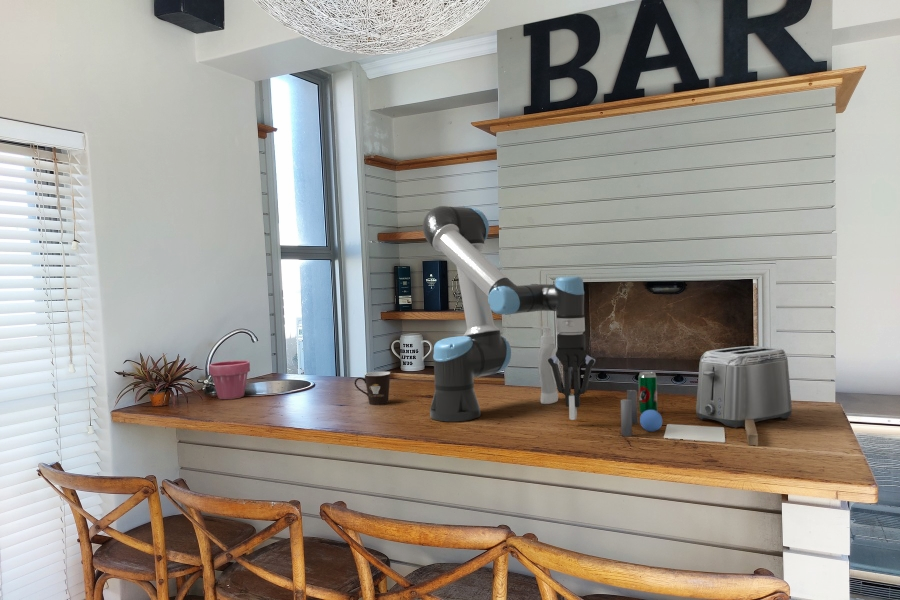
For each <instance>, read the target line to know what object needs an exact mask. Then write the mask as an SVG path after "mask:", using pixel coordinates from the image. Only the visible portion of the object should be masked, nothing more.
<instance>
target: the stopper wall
mask: <svg viewBox="0 0 900 600" xmlns="http://www.w3.org/2000/svg"><path fill="white" fill-rule="evenodd" d="M755 423H756V422H754V419H745V426H744V430H746V431H745V435H747V436H746V440H747V445H748V446H750V445H756V446H755V447H758V446H759V435H758V431H757V427H756V424H755Z"/></svg>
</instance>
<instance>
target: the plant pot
mask: <svg viewBox="0 0 900 600" xmlns="http://www.w3.org/2000/svg"><path fill="white" fill-rule="evenodd" d="M250 371H251V365H250V361H249V360H227V361H218V362H212V363H210V364H209V365H208V372H209V376H211V378H212V381H213V384H214V389H215V392H216V395H217V398H218V399H219V400H234V399H240V398H242V397H245V391H246V387H247V380H248V373H249V372H250Z"/></svg>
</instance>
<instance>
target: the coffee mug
mask: <svg viewBox="0 0 900 600" xmlns="http://www.w3.org/2000/svg"><path fill="white" fill-rule="evenodd" d="M358 380H361V381H363V382H364V384H365V386H366V391H367V392H366V391H364V390H363V389H361V388H360V387H359V386H358V384H357V381H358ZM390 381H391V372H390V371H371V372H366V373H364V377H357V378H356V379H355V380H354V387H355V388H356V389H357V390H358V391H359V392H361V393H363V394H364V395H366V396H367V398H368V403H369V404H368V405H371V406H382V405H386V404H389V398H390V397H389V394H390V383H391V382H390Z"/></svg>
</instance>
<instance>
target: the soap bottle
mask: <svg viewBox="0 0 900 600" xmlns="http://www.w3.org/2000/svg"><path fill="white" fill-rule="evenodd" d="M531 328H532V329H534V330H535V329H537V330H538V329H539V330H542V331H543V332H544V333H542V335H541V336H540V347H539V349H538V350H539V351H538V354H537V366H538V375H539V377H538V378H539V381H540V389H541V391H540V403H541V404H542V405H551V404H554V403H557V402H558V401H559V395H558V394H559V392H558V389H557V385H556V381H555V377H554V374H553V370H552V367H551V365H550V364H549V362H548V359H549V358H551V357H553V356H555V355H556V352H557V346H556V344H555V343H556V342H555V335H553V332H552V331H551V328H552V327H551V326H532V327H531ZM557 364H558V365H559V362H558V363H557Z"/></svg>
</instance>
